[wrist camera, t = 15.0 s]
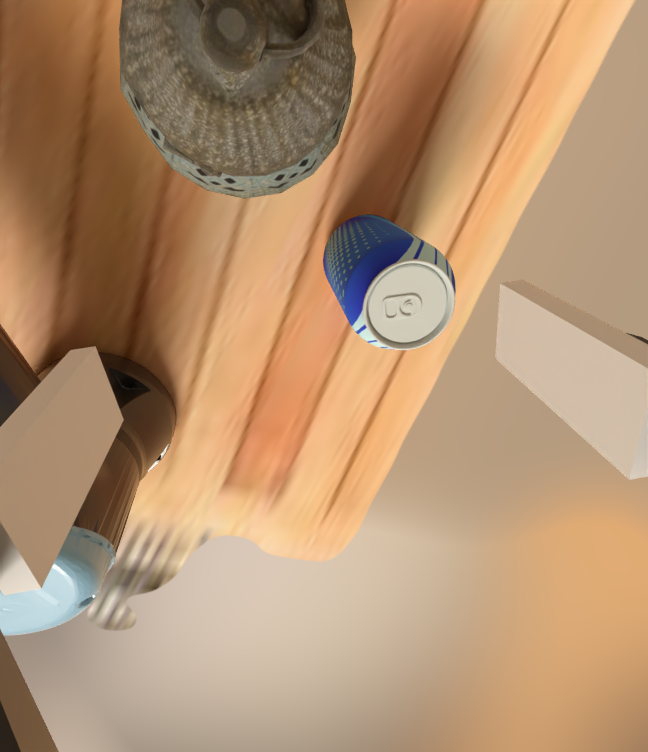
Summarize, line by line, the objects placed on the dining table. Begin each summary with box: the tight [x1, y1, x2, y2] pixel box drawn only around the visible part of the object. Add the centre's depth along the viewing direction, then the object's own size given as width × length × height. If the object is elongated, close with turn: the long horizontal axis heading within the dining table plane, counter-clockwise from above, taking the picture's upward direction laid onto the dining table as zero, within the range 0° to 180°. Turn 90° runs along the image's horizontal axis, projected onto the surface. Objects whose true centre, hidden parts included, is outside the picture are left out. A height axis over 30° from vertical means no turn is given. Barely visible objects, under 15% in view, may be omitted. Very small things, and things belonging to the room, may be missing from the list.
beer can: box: [323, 215, 455, 350], centre depth 39 cm, size 8×8×16 cm
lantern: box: [119, 0, 356, 198], centre depth 27 cm, size 14×14×25 cm
